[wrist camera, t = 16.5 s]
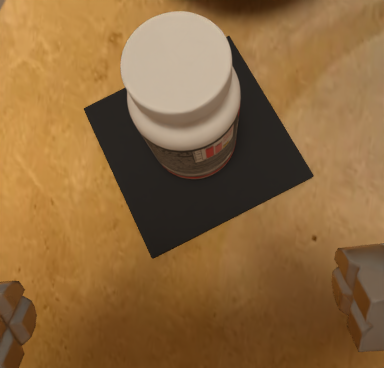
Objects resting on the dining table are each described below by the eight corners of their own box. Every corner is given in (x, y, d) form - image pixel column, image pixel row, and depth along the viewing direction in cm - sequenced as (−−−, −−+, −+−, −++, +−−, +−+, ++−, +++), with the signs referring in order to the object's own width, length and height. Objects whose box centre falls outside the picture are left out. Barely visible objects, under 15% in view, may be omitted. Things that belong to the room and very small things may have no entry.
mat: (153, 258, 22) (152, 258, 22) (85, 110, 25) (83, 108, 25) (312, 177, 23) (314, 176, 22) (229, 38, 25) (229, 35, 25)
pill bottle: (252, 144, 23) (276, 66, 13) (188, 197, 23) (165, 156, 13) (199, 87, 24) (185, -24, 15) (137, 136, 24) (80, 57, 14)
